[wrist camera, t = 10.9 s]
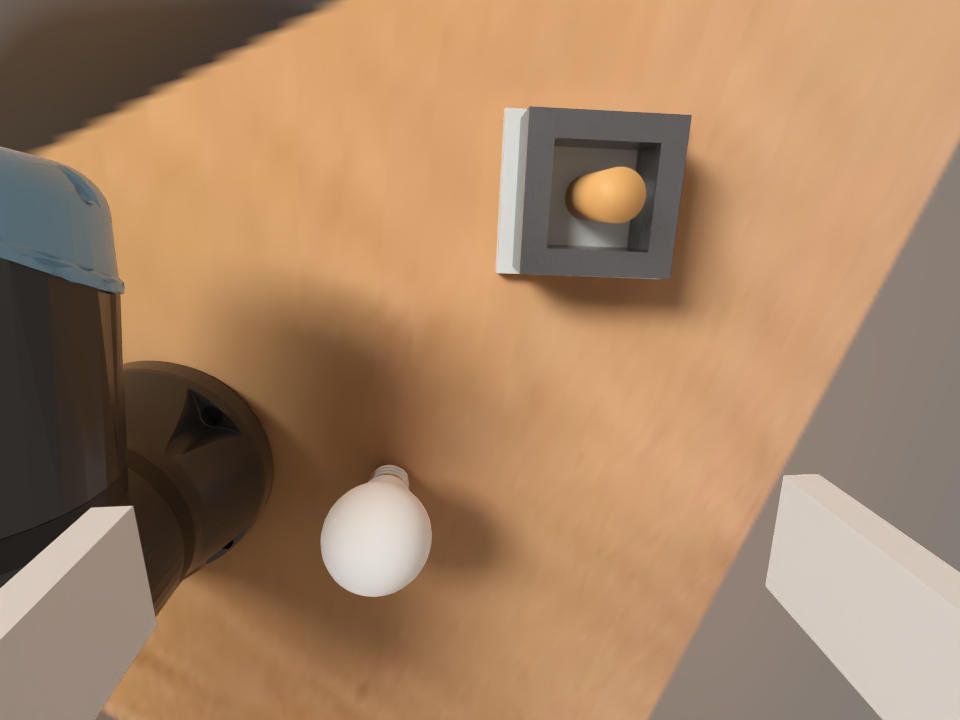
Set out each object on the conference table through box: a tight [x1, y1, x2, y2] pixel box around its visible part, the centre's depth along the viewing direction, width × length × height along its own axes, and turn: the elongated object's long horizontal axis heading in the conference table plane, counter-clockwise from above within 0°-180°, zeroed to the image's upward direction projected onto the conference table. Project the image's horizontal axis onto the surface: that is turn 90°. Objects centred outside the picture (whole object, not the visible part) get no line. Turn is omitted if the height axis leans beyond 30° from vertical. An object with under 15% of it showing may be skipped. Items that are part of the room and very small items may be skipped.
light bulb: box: [321, 464, 432, 597], centre depth 35 cm, size 7×7×11 cm
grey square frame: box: [512, 107, 692, 279], centre depth 33 cm, size 9×9×4 cm
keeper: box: [496, 108, 660, 280], centre depth 32 cm, size 11×10×8 cm
